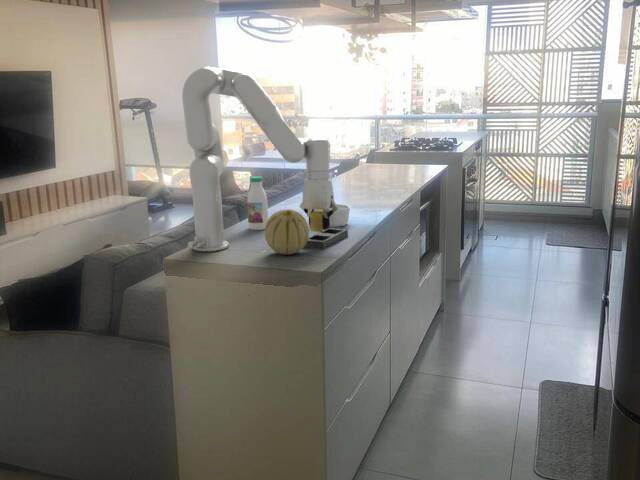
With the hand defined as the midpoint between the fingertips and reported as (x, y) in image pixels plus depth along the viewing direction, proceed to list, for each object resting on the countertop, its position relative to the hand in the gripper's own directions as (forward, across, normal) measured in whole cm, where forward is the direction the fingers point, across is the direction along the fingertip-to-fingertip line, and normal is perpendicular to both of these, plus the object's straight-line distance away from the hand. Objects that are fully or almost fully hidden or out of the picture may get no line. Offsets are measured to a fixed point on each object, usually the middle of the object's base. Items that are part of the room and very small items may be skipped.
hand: (319, 227), depth 211 cm
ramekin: (+6, -10, +31) cm, 33 cm away
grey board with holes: (+6, 0, +5) cm, 8 cm away
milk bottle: (+6, -34, +14) cm, 37 cm away
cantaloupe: (+6, -5, -14) cm, 16 cm away
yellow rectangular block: (+1, 0, 0) cm, 1 cm away
